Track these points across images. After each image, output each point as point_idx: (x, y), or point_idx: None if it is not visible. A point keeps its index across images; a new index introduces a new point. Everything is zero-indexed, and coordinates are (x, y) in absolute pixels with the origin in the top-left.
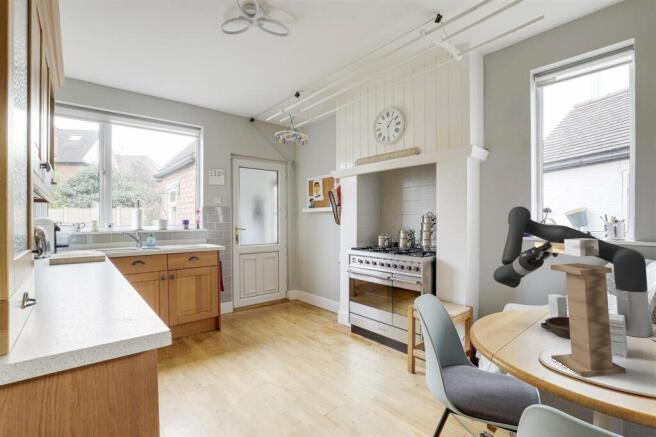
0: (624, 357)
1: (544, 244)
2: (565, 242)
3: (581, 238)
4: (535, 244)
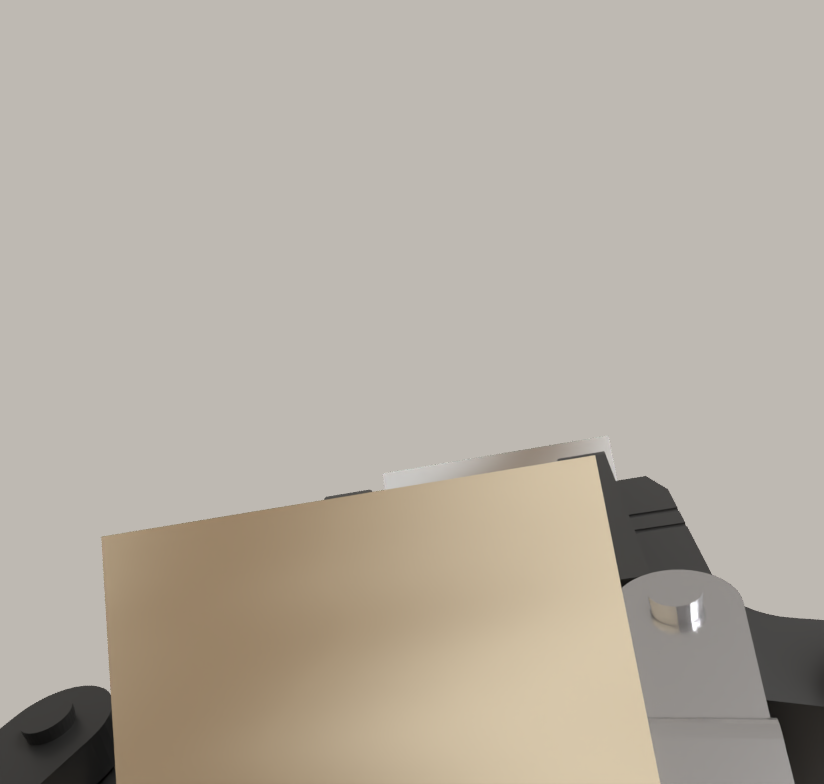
0: None
1: (673, 510)
2: (613, 474)
3: (401, 472)
4: (615, 592)
